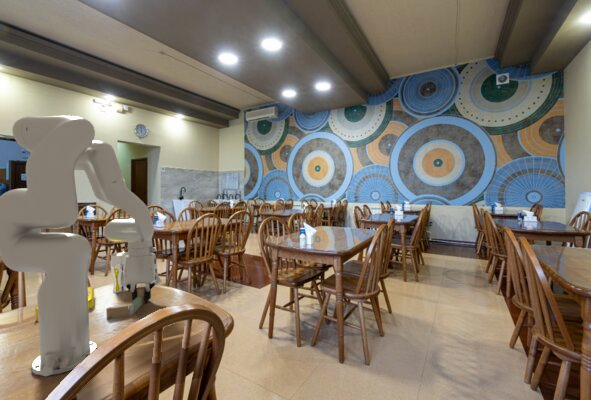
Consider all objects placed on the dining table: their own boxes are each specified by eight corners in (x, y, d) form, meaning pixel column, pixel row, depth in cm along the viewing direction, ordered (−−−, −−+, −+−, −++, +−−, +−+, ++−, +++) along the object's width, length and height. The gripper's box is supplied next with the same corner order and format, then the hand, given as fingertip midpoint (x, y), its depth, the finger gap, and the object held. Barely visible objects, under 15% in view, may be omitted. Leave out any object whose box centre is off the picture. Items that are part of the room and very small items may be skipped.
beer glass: (107, 291, 112) (106, 255, 112) (123, 286, 119) (122, 251, 118) (119, 294, 110) (118, 256, 109) (135, 288, 116) (134, 252, 115)
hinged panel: (137, 312, 94) (137, 296, 94) (128, 313, 93) (127, 296, 93) (147, 300, 103) (147, 285, 103) (139, 301, 103) (138, 286, 102)
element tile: (93, 311, 96) (93, 298, 96) (34, 323, 88) (33, 308, 88) (94, 296, 109) (94, 284, 108) (42, 306, 100) (42, 293, 100)
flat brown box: (172, 317, 92) (172, 306, 92) (102, 330, 83) (102, 318, 83) (169, 296, 109) (169, 286, 109) (111, 305, 100) (110, 295, 100)
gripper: (167, 248, 106) (168, 295, 107) (119, 249, 102) (120, 298, 103) (162, 252, 98) (163, 304, 99) (110, 254, 95) (112, 307, 96)
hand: (141, 300), depth 101 cm, fingers closed on hinged panel, 3 cm apart
